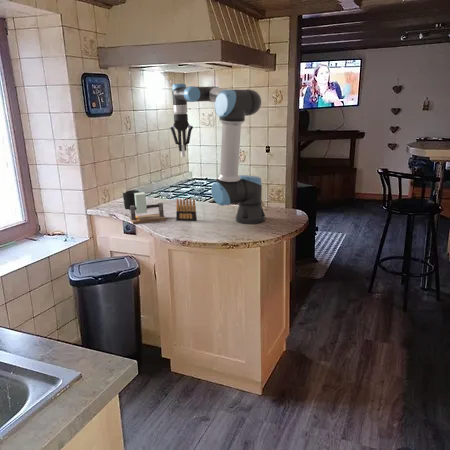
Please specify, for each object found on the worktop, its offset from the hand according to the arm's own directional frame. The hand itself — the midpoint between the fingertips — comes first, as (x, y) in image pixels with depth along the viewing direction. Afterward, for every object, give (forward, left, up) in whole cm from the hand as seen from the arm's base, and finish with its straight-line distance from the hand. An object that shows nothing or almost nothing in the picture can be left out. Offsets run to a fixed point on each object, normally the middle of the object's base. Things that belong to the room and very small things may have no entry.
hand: (183, 156), depth 241 cm
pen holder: (+19, +28, -31) cm, 46 cm away
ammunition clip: (-23, +6, -31) cm, 39 cm away
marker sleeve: (-12, +28, -26) cm, 40 cm away
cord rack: (-12, +25, -30) cm, 41 cm away
